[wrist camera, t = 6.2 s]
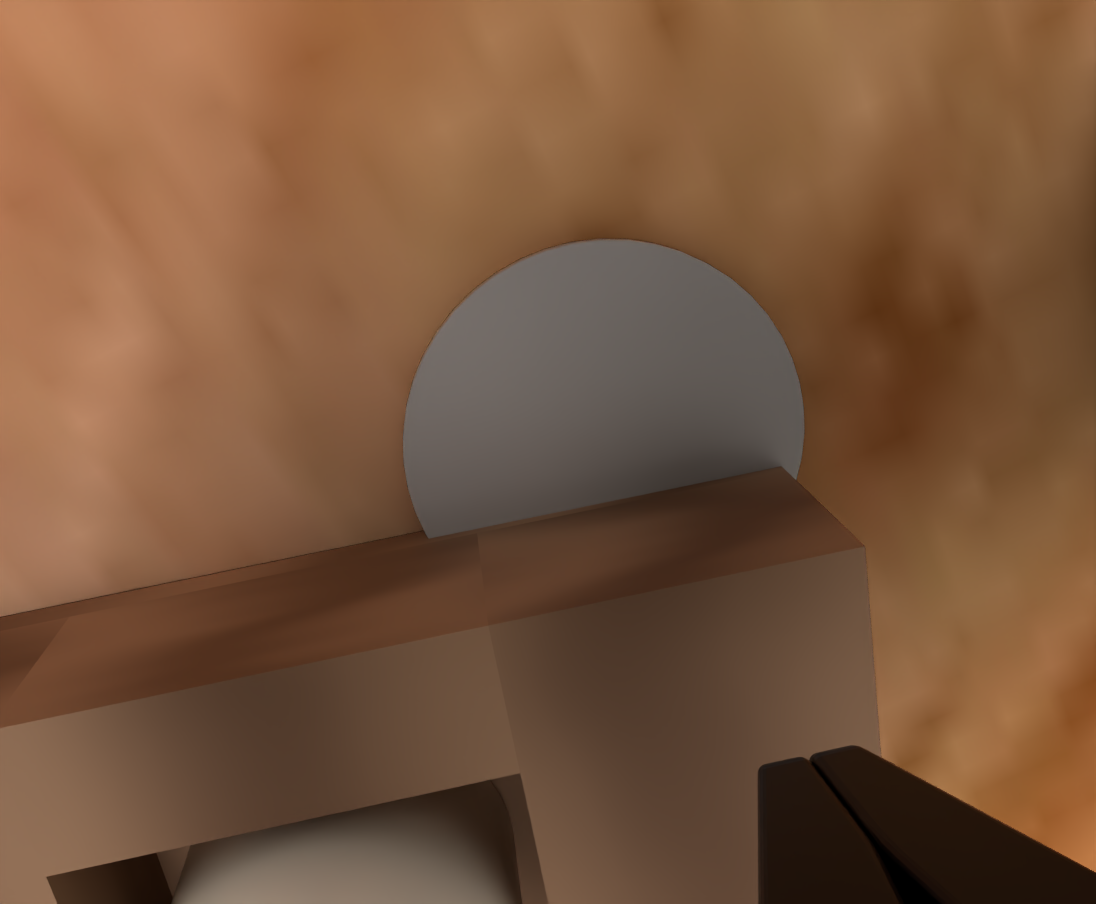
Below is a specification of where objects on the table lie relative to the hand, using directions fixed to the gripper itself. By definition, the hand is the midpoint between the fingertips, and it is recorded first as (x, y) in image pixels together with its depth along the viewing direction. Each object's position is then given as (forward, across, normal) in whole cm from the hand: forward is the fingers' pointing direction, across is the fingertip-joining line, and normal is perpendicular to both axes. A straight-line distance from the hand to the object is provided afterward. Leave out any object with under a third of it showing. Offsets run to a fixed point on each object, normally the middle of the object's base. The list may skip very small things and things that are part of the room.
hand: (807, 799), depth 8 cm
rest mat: (+10, 0, 0) cm, 10 cm away
